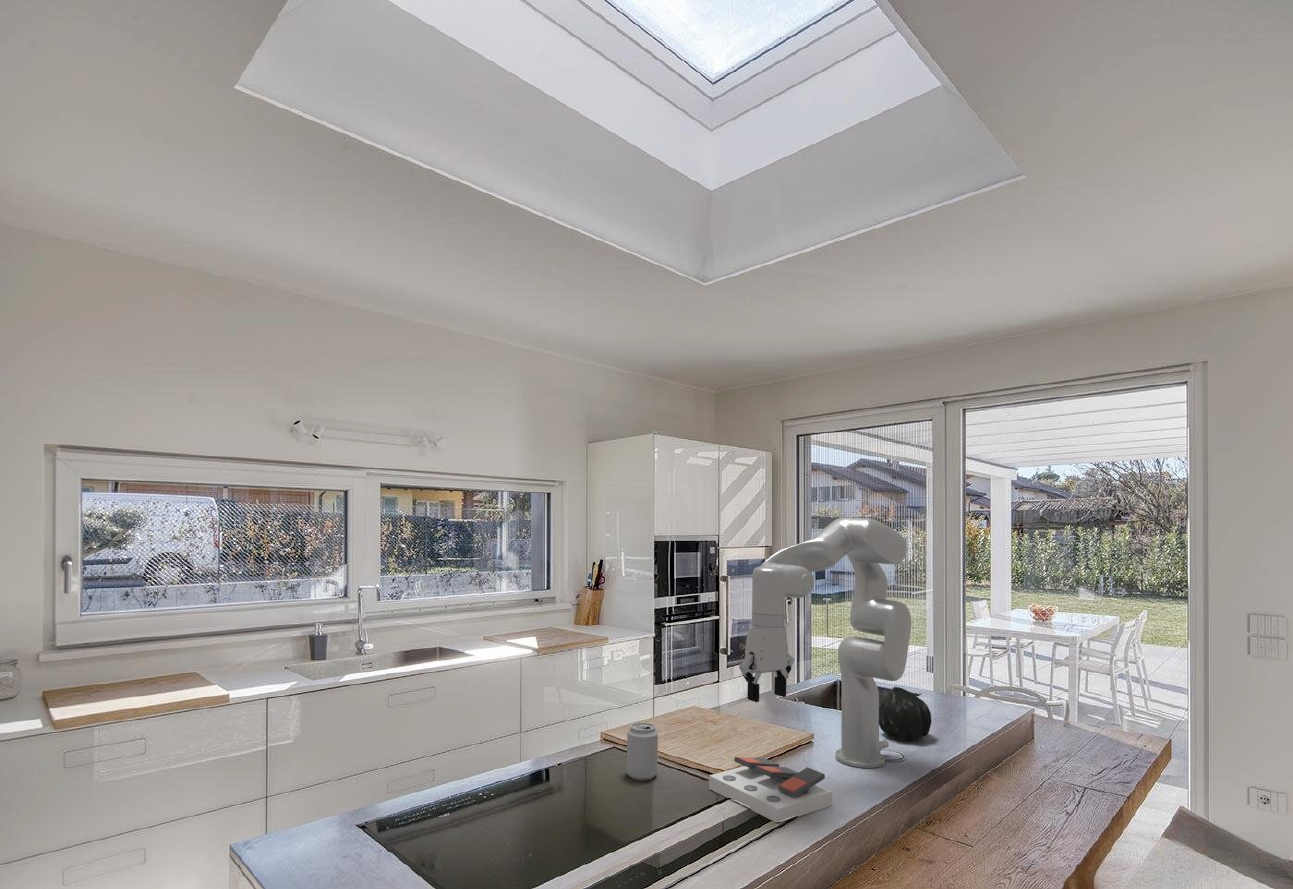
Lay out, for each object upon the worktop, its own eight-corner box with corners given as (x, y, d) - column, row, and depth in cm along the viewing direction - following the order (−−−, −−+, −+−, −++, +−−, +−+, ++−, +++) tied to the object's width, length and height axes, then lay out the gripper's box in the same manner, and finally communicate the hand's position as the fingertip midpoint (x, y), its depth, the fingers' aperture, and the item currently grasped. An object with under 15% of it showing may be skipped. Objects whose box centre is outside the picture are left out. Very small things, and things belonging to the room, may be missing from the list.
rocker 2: (807, 771, 169) (807, 766, 168) (825, 778, 164) (824, 773, 164) (778, 789, 163) (777, 784, 163) (795, 797, 159) (794, 792, 159)
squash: (948, 720, 212) (913, 674, 219) (929, 733, 201) (893, 685, 208) (913, 744, 219) (880, 699, 226) (892, 758, 207) (858, 711, 214)
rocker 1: (763, 762, 180) (764, 757, 180) (778, 768, 175) (779, 763, 176) (734, 761, 174) (734, 756, 174) (748, 767, 170) (749, 762, 170)
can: (653, 782, 174) (655, 731, 174) (623, 779, 175) (624, 728, 176) (659, 771, 181) (660, 721, 182) (630, 768, 182) (631, 719, 183)
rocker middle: (784, 771, 174) (785, 766, 174) (800, 777, 170) (801, 772, 170) (755, 770, 168) (755, 765, 168) (770, 777, 164) (771, 772, 164)
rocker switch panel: (760, 773, 181) (761, 757, 181) (831, 805, 163) (831, 787, 163) (708, 788, 171) (709, 771, 171) (778, 823, 153) (778, 804, 153)
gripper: (782, 615, 178) (781, 689, 176) (729, 621, 167) (727, 699, 166) (806, 620, 172) (805, 696, 170) (752, 626, 161) (751, 707, 160)
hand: (766, 697), depth 168 cm, fingers open, 8 cm apart
